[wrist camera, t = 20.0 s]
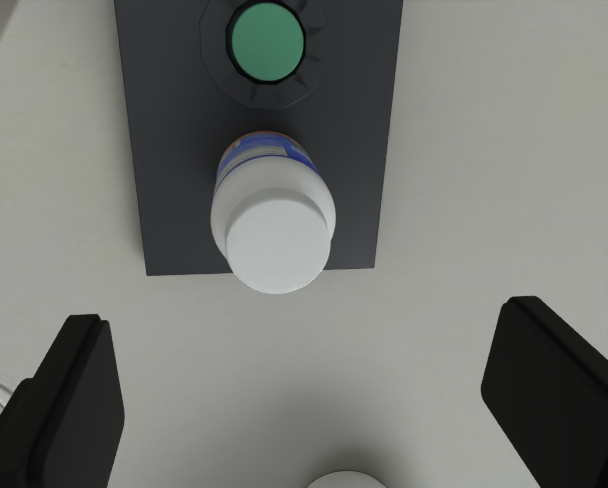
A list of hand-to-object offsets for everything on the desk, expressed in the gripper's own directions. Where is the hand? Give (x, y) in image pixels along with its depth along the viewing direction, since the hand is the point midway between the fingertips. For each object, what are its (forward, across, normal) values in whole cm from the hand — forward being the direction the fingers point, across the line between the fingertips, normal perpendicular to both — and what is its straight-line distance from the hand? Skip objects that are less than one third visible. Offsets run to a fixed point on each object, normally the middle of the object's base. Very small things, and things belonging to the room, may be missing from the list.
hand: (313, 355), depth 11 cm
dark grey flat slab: (+18, 0, -1) cm, 18 cm away
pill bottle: (+17, 0, +1) cm, 17 cm away
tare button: (+15, 0, -6) cm, 17 cm away
